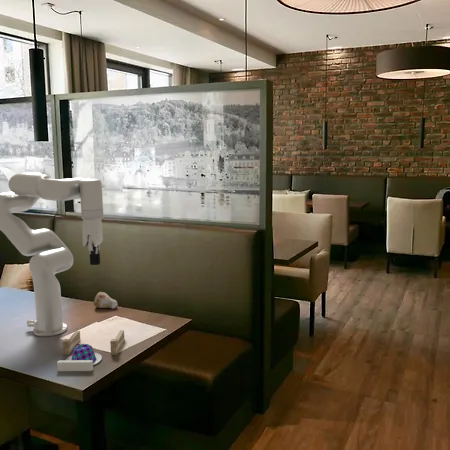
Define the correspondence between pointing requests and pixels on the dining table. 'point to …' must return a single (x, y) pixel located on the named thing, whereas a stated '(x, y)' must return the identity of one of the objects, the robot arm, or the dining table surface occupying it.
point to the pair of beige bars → (75, 338)
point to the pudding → (85, 353)
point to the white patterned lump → (104, 301)
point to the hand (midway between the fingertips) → (95, 264)
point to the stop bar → (75, 365)
